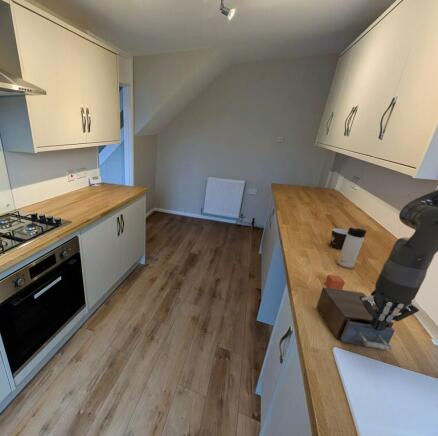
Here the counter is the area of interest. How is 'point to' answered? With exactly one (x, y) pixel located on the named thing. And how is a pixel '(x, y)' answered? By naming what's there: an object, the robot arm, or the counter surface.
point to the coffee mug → (338, 238)
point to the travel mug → (351, 247)
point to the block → (334, 282)
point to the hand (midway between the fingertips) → (376, 328)
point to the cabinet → (342, 309)
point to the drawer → (366, 334)
